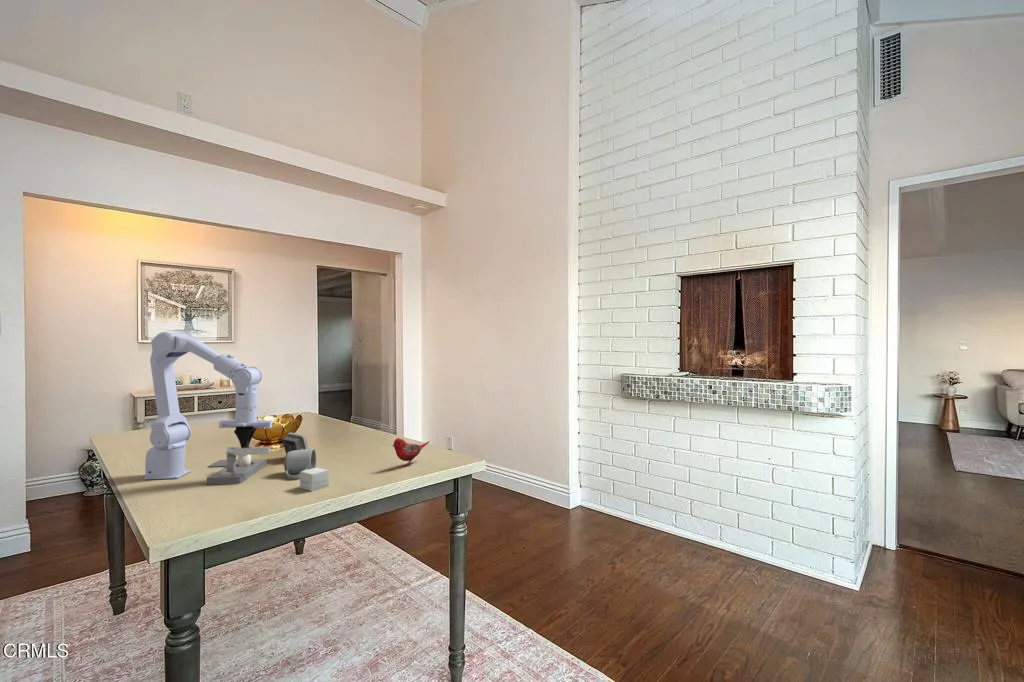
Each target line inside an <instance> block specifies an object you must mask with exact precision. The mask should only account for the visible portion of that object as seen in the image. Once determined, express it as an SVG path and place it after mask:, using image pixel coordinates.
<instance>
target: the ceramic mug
mask: <svg viewBox="0 0 1024 682" xmlns="http://www.w3.org/2000/svg"><path fill="white" fill-rule="evenodd" d="M283 461H284V462H283V467H284V471H285V473H286V477H287V478H288V479H290V480H299V479H298V478H300V472H301V471H304V470H309V469H313V468H317V453H316V450H315V448H313V447H312V448H309V449H303V450H294V451H290V452H288V453H287V454H286V453H285V456H284V460H283Z"/></svg>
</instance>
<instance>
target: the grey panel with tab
mask: <svg viewBox="0 0 1024 682" xmlns="http://www.w3.org/2000/svg"><path fill="white" fill-rule="evenodd" d="M226 460H227V467H222V468H221V469H220V470H218V471H217V472H214V473H213V474H211V475H208V476H207V477H206V485H207V484H214V485H233V484H234V483H240V484H242V483H243V482H244V481H246V480H248V479H249V478H250V477H252V476H253V475H254V473H255V472H256V473H257V471H258V470H259V471H260V470H262V469H264V468H265V467H267V465H268V464H267V459H251V465H250V466H243V467H238V459H237V455H231V456H227V455H226ZM236 460H237V461H236ZM264 466H265V467H264ZM261 468H262V469H261ZM259 471H258V472H259ZM256 473H255V474H256ZM252 474H253V475H252ZM251 475H252V476H251ZM249 476H250V477H249ZM248 477H249V478H248ZM245 479H246V480H245ZM242 481H243V482H242ZM234 485H235V484H234Z"/></svg>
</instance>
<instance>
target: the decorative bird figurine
mask: <svg viewBox="0 0 1024 682" xmlns="http://www.w3.org/2000/svg"><path fill="white" fill-rule="evenodd" d="M429 443H430V441H426V442H424V443H423V444H420V445H419V444H417V443H411V442H406V441H405V440H404V439H403V438H399V437H397V438H396V439H395V440H394V441H393V445H391V446H392V447H393V448H394V451H395V454H396V456H397V458H399V460H401V461H403V462H407V463H405V464H404V465H402V467H408V466H411V465H412V464H413V460H414V459H415V458H416V457H417V456H418V455H419V454H420V453H421V450H422V449H423V448H424V447H425V446H427V445H428V444H429ZM410 464H411V465H410Z"/></svg>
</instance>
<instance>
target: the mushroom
mask: <svg viewBox="0 0 1024 682" xmlns="http://www.w3.org/2000/svg"><path fill="white" fill-rule="evenodd" d="M237 460H238V467H243V466H250V465H251V460H252V455H237Z"/></svg>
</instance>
